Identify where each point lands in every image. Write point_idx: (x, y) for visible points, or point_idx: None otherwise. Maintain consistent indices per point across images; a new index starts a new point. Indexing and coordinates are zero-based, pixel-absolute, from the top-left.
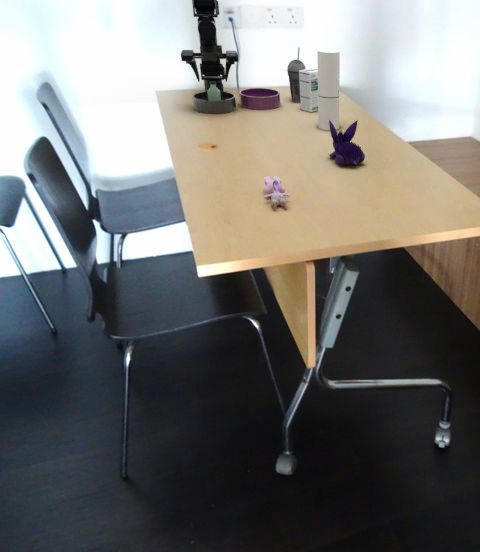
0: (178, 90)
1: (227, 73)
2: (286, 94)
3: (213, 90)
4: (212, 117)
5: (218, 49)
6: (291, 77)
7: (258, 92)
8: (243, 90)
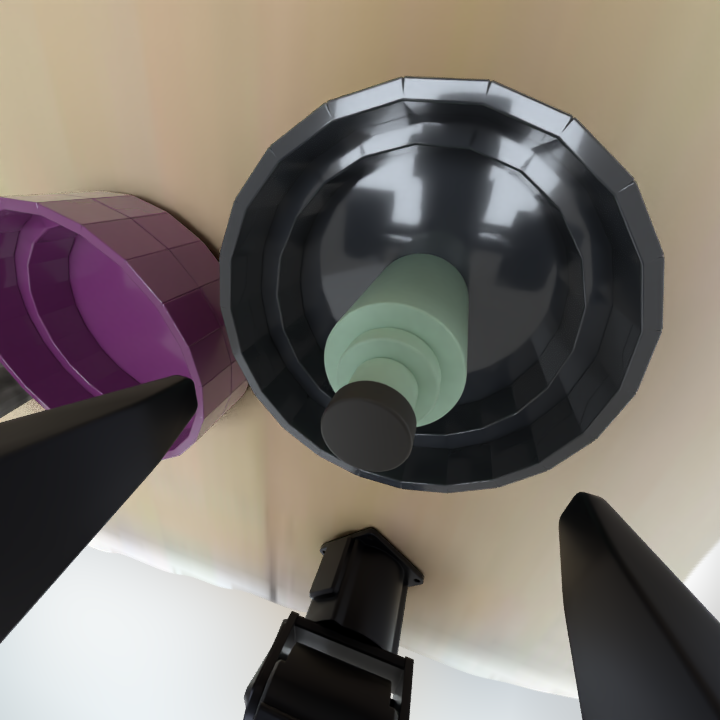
0: (510, 661)
1: (15, 425)
2: None
3: (397, 332)
4: (508, 44)
5: None
6: None
7: None
8: (187, 437)
